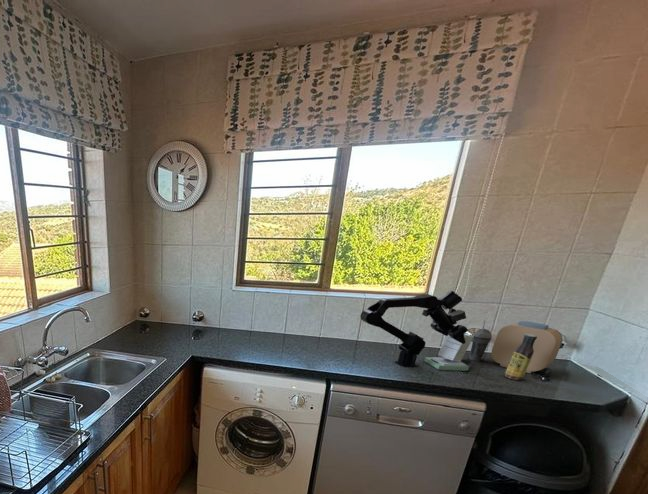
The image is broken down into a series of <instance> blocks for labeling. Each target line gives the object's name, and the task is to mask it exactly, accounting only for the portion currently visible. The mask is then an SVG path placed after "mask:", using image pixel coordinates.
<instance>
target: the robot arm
mask: <svg viewBox="0 0 648 494" xmlns="http://www.w3.org/2000/svg"><path fill="white" fill-rule="evenodd" d="M462 302H463V298H462V296H460V295H459V294H458V293H456V292H455V291H454V290H448V291H447V293H445V294H444V295H443V296H441V297H437V296H435V295H432V294H429V293H422V294H418V295H415V296H411V297H392V298H385V297H382V298H380V299H379V300H378V301H377V302H376V303H373V304H371V305H370V306H368V307H367V308H366V309H364V310H362V311H361V313H360V320H361V321H362V322H364V323H366V324H368V325H371V326H374V327H377V328H380V329H382V330H383V331H385V332H387V333H388V334H390V335H392V336H394V337H395V338H397V339H399V341H401V343H400V344H399V345H398V349H399V350H400V351H399V355H398V358H397V360H395V363H396V364H398V365H400V366H402V367H417V364H416V362H417V357H418V356H419V355H420V353H421V352H422V351H423V350H424V349H425V348H426V341H425V338H423V337H421V336H420V335H418V334H416V333H414V332H412V331H409V332H408V333H406V332H405V331H404V330H401V329H400V328H398V327H396V326H395V325H393V324H391V323H389V322H387V321H386V320H385V319H384V318H383V316H384V315H385V313H386V312H387V310H389V309H395V308H412V307H415V308H421V309H423V311H422V313H421V315H422V316H424V317H430V318H431V319H432V320H431V321H432V322H431V323H430V329H432V330H434V331H436V332H438V333H439V334H442V335H443V336H445V337H447V336H448V335H449V336H450V337H451V338H453V339H455V340H456V341H458V342H460V343H462V344H465V343H466V342H465V337H464V334H466V333H467V332H468V331H469V329H468V328H467V326H465V325H463V324H458V322H460V321H462V320H466V319H467V316H466V311H464V310H462V309H456V308H455V307H456V306H457V305H459V304H460V303H462ZM446 310H448V312H447V311H446ZM456 324H457V325H456Z"/></svg>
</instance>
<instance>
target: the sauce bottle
mask: <svg viewBox="0 0 648 494" xmlns="http://www.w3.org/2000/svg"><path fill="white" fill-rule="evenodd" d="M536 338H537V336H536V335H532V334H525V335H524V339H523V341H522V343H521V344H520V346H519V347H518V348H517V349H516V350H515V351H514V353H513V355H512V358H511V360H510V362H509V365H508V367H507V368H506V369H505V373H504V377H505V378H506V379H510V380H513V381H522V380H523V378H524V377H525V375H526V373H527V372H526V370H527V368H528V366H529V363H530V361H531V358H532V355H533V353H534V350H533V344H534V342H535V340H536Z"/></svg>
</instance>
